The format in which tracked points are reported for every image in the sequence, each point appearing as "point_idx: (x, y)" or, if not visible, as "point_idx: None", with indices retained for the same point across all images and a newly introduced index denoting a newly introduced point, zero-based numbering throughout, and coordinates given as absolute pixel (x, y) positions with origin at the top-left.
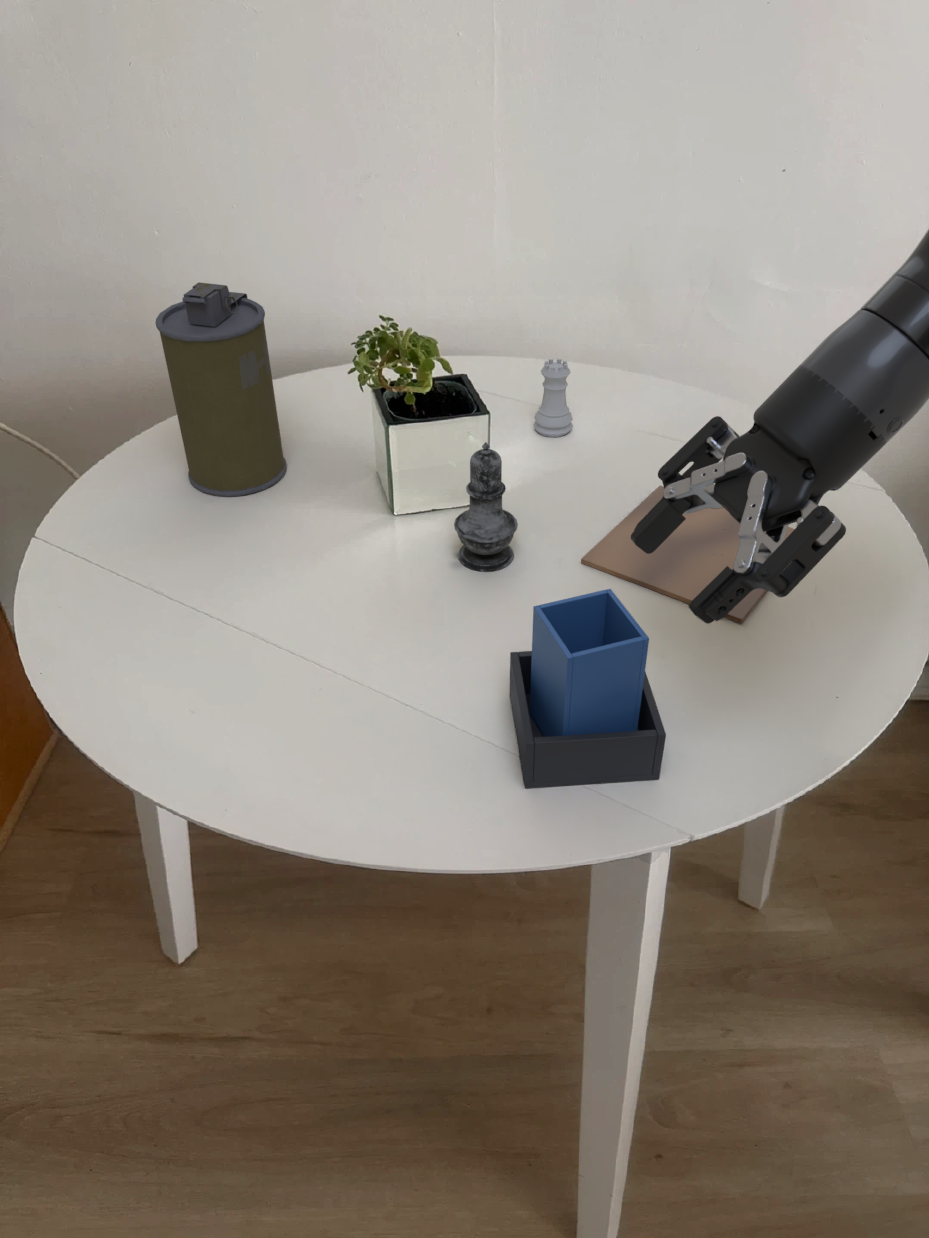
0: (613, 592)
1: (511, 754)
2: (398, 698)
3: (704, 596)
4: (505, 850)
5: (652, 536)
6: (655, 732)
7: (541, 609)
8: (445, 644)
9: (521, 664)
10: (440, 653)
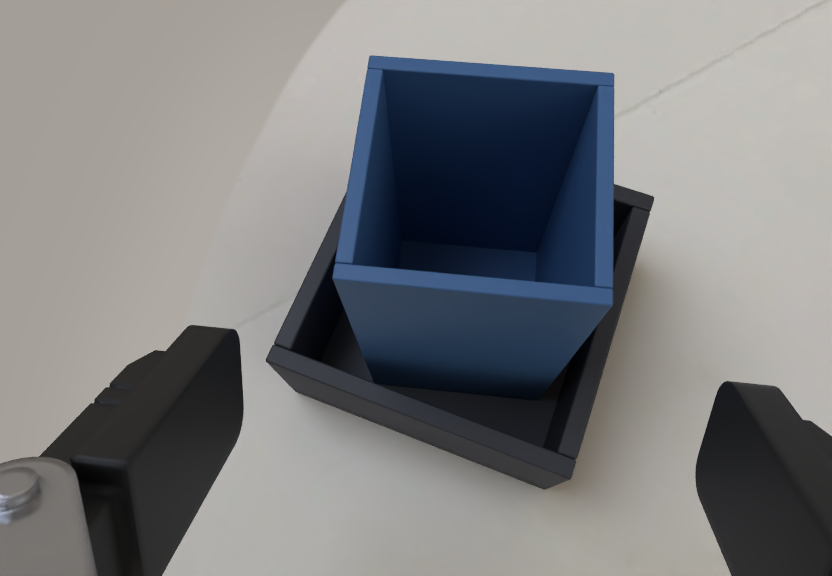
0: (589, 304)
1: None
2: (683, 85)
3: (177, 357)
4: (298, 105)
5: (734, 472)
6: (281, 342)
7: (595, 89)
8: (813, 208)
9: (624, 222)
10: (787, 189)
